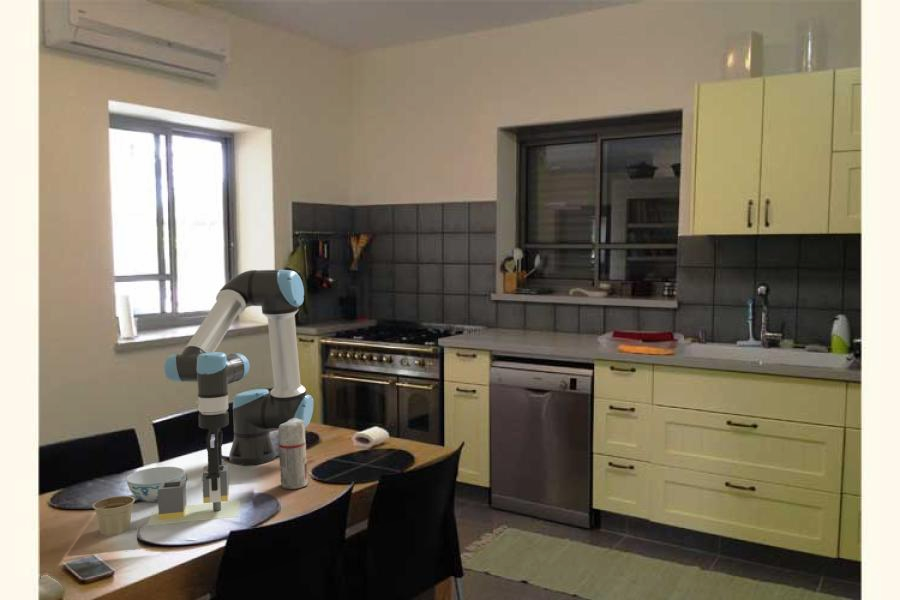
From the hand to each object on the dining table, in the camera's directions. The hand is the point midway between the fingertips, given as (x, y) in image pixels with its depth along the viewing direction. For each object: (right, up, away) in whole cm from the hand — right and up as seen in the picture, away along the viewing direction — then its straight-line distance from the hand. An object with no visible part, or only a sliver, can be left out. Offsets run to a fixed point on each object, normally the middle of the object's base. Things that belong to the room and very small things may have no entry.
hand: (216, 497), depth 184 cm
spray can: (+15, -3, +24) cm, 29 cm away
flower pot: (-21, -6, -12) cm, 25 cm away
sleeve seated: (-11, -4, -2) cm, 11 cm away
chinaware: (-21, -5, +12) cm, 24 cm away
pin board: (-5, -5, -1) cm, 7 cm away
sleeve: (0, 0, 0) cm, 0 cm away
